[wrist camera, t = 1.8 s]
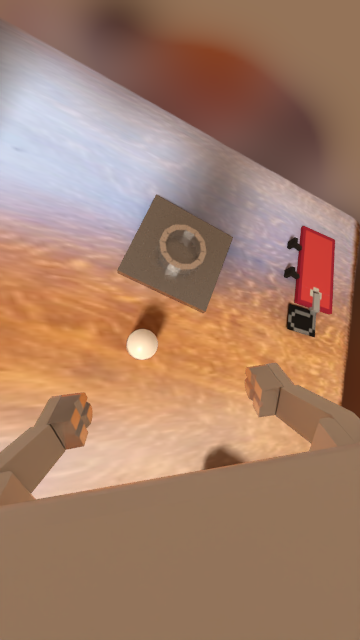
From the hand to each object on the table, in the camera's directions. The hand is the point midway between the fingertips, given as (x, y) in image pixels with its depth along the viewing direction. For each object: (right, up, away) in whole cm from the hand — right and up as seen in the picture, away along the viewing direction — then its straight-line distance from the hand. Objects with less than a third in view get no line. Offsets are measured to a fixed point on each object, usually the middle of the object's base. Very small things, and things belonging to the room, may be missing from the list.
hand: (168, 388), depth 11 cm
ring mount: (0, +18, +37) cm, 41 cm away
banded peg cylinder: (-8, -2, +31) cm, 32 cm away
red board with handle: (+35, +14, +46) cm, 59 cm away
